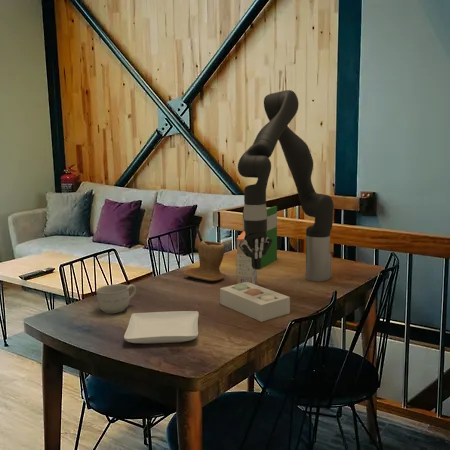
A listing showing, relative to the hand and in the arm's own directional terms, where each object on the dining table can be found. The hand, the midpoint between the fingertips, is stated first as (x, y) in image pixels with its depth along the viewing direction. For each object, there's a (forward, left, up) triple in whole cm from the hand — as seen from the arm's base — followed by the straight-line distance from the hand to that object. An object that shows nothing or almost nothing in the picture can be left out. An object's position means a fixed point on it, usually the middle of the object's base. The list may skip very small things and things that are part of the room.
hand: (256, 268), depth 190 cm
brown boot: (-7, -39, -14) cm, 42 cm away
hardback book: (-37, -42, -14) cm, 58 cm away
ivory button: (+1, +7, -10) cm, 12 cm away
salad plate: (+35, -1, -14) cm, 38 cm away
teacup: (+37, -28, -14) cm, 48 cm away
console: (+1, 0, -14) cm, 14 cm away
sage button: (+1, -7, -10) cm, 13 cm away
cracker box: (-10, -17, -14) cm, 24 cm away
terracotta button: (+1, 0, -10) cm, 10 cm away
